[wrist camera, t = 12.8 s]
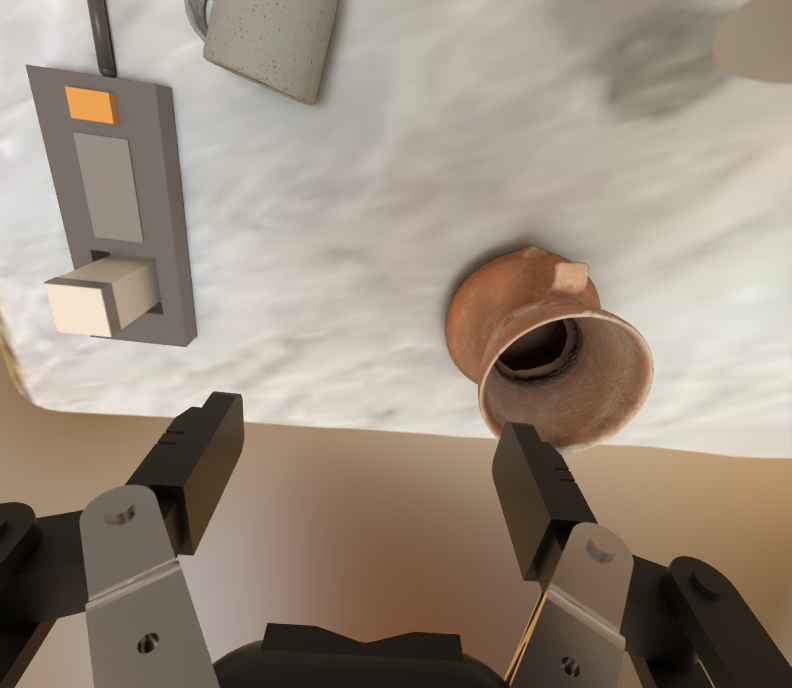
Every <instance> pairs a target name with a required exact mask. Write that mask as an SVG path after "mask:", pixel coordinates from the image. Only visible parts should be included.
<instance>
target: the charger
mask: <svg viewBox="0 0 792 688" xmlns="http://www.w3.org/2000/svg"><path fill="white" fill-rule="evenodd" d="M44 286H45V289H46V293H47V296H48V299H49V303H50V306H51V310H52V313H53V317H54V320H55V324H56V327H57V330H58V332H63V333H73V334H83V335H94V336H104V337H114V336H115V335H116V334H118V333H119V332H120V331H121V330H122V329H123V328H124V327H126V326H127V325H129V324H130V323H131V322H133V321H134V320H135V319H137V318H138V317H140V316H141V315H142V314H144V313H145V312H146V311H148V310H149V309H151V308H152V307H153V306H155V305H156V304H157V303H159V302H160V301H162V300H161V293H160V286H159V279H158V272H157V265H156V258H154V257H146V256H138V255H129V254H121V253H114V254H111V255H109V256H107V257H104V258H102V259H100V260H97V261H95V262H93V263H90V264H88V265H86V266H83V267H81V268H79V269H76V270H74V271H72V272H69V273H67V274H65V275H62V276H60V277H55V278H53V279H51V280H48V281H46V282H44Z"/></svg>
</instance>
